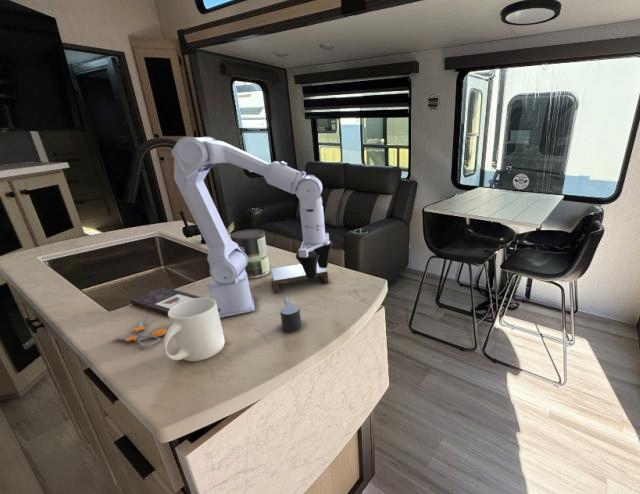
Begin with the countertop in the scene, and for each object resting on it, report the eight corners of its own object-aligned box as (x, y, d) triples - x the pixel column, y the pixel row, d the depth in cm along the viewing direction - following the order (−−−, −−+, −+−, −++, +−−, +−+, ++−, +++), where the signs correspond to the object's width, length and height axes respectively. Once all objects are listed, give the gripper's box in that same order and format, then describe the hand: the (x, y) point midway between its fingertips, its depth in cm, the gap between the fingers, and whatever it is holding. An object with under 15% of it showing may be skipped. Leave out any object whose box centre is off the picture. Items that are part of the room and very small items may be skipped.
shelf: (275, 292, 95) (273, 280, 94) (272, 280, 104) (270, 268, 102) (328, 282, 102) (327, 271, 100) (321, 271, 110) (320, 260, 109)
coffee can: (249, 281, 102) (241, 240, 98) (231, 274, 108) (223, 234, 103) (276, 271, 110) (271, 232, 105) (259, 264, 116) (253, 227, 111)
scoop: (302, 329, 77) (300, 311, 75) (283, 334, 75) (281, 316, 74) (296, 311, 85) (294, 294, 83) (279, 315, 83) (277, 298, 82)
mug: (154, 369, 64) (139, 323, 60) (204, 335, 75) (194, 295, 71) (188, 377, 62) (174, 331, 58) (234, 341, 73) (225, 300, 69)
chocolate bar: (163, 286, 96) (203, 297, 90) (163, 289, 97) (204, 300, 90) (129, 299, 89) (171, 313, 82) (130, 302, 89) (172, 316, 82)
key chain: (176, 333, 75) (175, 330, 75) (141, 351, 69) (140, 348, 69) (144, 321, 80) (143, 318, 80) (109, 336, 74) (108, 333, 74)
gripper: (316, 233, 74) (321, 285, 79) (337, 218, 87) (340, 263, 92) (288, 231, 75) (294, 283, 80) (313, 217, 89) (318, 262, 93)
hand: (317, 272), depth 86 cm, fingers open, 7 cm apart
